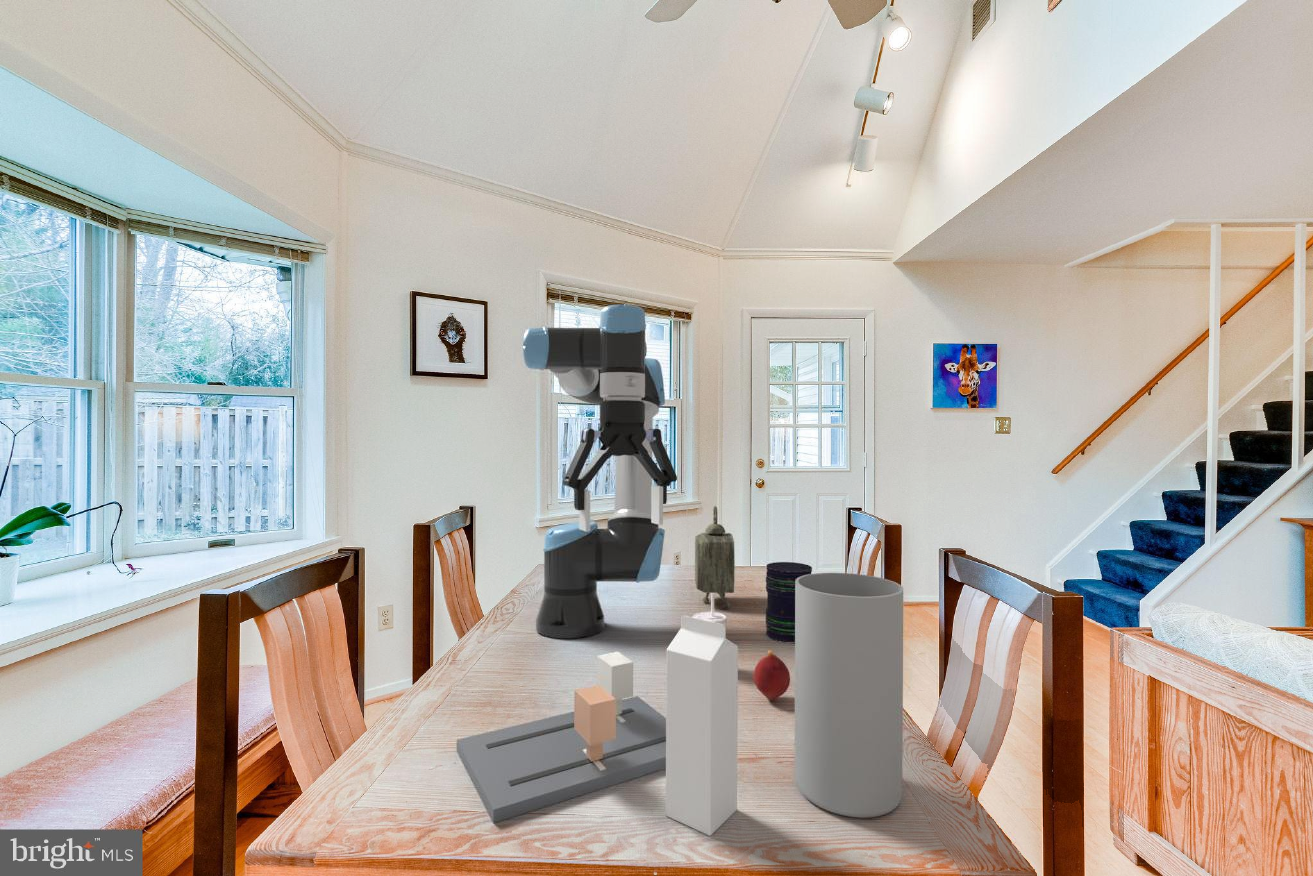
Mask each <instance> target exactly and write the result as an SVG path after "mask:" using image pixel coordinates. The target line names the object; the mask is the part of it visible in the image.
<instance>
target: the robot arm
mask: <svg viewBox="0 0 1313 876" xmlns="http://www.w3.org/2000/svg"><path fill="white" fill-rule="evenodd" d="M599 321H600V322H599V325H598V326H599V327H547V326H542V327H530V328H528V329H526V330H525V332H524V335H523V339H522V355H523V361H524V364H525V365H526V367H527V368H528V369H533V370H540V371H544V370H549V371H550V372H551V373H552V374H553V375H554V376H555V377H556V378H557V380H558V384H559V385H560V388H561V389H562V391H564V392H565V393H566V395H569V396H571V397H572V398H575V399H577V400H579V401H582V402H584V403H586V404H587V403H589V404H592V405H598V406H599V423H600V426H599V429H598V430H595V429H594V428H583V429H582V430H581V435H580V436H581V437H580V438H581V439H580V443H579V445H578V448H577V450H576V452H575V454H574V455H573V458H572V460H571V462H570V465H569V467H568V469H567V471H566V472H565V476H564V478H563V480H562V485H563V486H566V487H569V488H570V489H572V490H573V492H574V493H573V494H574V497H573V501H574V502H573V505H574V506H573V507H574V509H575V510H576V511H578V522H577V521H576V522H570V523H566V524H560V525H556V526H553V527H551V528H549V529H547V531H546V533H545V535H544V548H543V552H544V554H543V555H544V556H543V557H544V558H543V561H544V562H543V563H544V564H543V567H544V569H543V570H544V571H543V573H544V580H543V582H544V584H543V585H544V587H543V590H544V592H543V597H542V600H541V603H540V607H539V608H538V609H539V610H538V613H537V616H536V620H535V631H536V630H537V631H538V632H537V631H536V632H537V633H538V634H539V633H541V634H542V636H544V635H545V637H548V636H549V637H548V638H554V639H576V638H577V639H578V638H583V637H586V638H587V637H589V636H593V635H596V634H599V633H600V632H602V631H603V630H604V629H605V614H604V611H603V609H602V605H601V602H600V599H599V595H598V592H597V591H598V588H597V585H598V583H597V582H608V583H609V582H614V583H615V582H617V583H618V582H628V583H629V582H630V583H631V582H632V583H633V582H635V583H641V582H654V581H655V580H657V579H658V577H659V576H660V572H661V564H662V557H663V556H662V555H663V551H664V541H665V534H666V531H665V529H664V528H661V527H659V526H662V525H664V505H666V504H667V502H668V499H667V498H668V487H670V486H671V483H675V482H677V480H678V476H677V474H676V471H675V468H674V466H673V464H672V462H671V459H670V457H669V455H668V453H667V452H668V451H667V450H666V447H665V446H664V442H663V438H662V437H663V436H662V431H661V429H660V428H653V426H654V425H653V424H654V423H653V420H654V418H655V417H656V415H657V414H658V413H659V412H660V407H662V406H664V405H665V403H666V397H665V394H666V393H665V387H664V386H665V384H664V377H663V376H664V375H663V371H662V367H661V366H662V365H661V363H660V361H659V360H658V359H656V358H647V353H648V352H647V350H648V349H647V342H646V329H647V323H646V313H645V310H644V308H642V307H640V306H638V305H635V304H634V305H633V304H610V305H607V306H604V307H603V308H602V309H601V310H600V319H599ZM597 440H599V441H600V442H601V445H600V446H599V448H598V449H597V451H596V452H595V455H594V456H593V457H592V458H591V460H590V462H589V463H588V464H587V465H586V466H585V464H586V462H587V460H588V457H589V456H590V453H591V451H592V448H593V446H594V443H596V442H597ZM612 456H614V457H615V481H614V482H615V483H614V484H615V485H614V513H613V514H612V515H611V516H610V518H608V519H607V527H606V528H598V527H599V525H598V523H597V522H596V521H591V490H590V489H589V490H588V489H586V488H588V486H589V484H590V483H591V482H592V481H593V479H594V478H595V476H597V474H598V473H599V471H600V470H601V469H602V467H603V466H604V465H605V463H607V461H608V459H610V458H612ZM653 456H654V458H655V460H656V462H655V460H653ZM656 463H657V464H656ZM584 466H585V468H584ZM583 468H584V469H583ZM653 481H654V483H655V485H654V484H653ZM541 634H540V635H541Z"/></svg>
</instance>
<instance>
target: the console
mask: <svg viewBox="0 0 1313 876" xmlns="http://www.w3.org/2000/svg"><path fill="white" fill-rule="evenodd" d="M456 752H457V754H458V756H459V758H460V760H461V762H462V764H463V766H464V768H465V770H466V772H467V774H468V776H469V777H470V780H471V782H472V784H473V786H474V788H475V790H476V792H477V793H478V795H479V797H480V800H481V802H482V804H483V806H484V808H485V810H486V811H487V814H488V815H489V817H490V819H491V821H492V823H493V824H496V823H498V822H501V821H504V820H508V819H511V818H514V817H518V816H521V815H524V814H526V813H530V812H533V811H536V810H539V809H541V808H545V807H548V806H552V805H555V804H558V803H561V802H564V801H568V800H571V799H574V798H577V797H580V796H583V795H587V794H590V793H593V792H596V791H598V790H603V789H605V788H609V787H612V786H615V785H618V784H621V783H624V782H627V781H630V780H634V779H636V778H640V777H643V776H646V775H650V774H652V773H656V772H658V771H663V770H666V716H664V715H663V714H661V713H660V712H659V711H657V710H656V709H655V708H654V707H652V706H651V705H649V704H648V703H647V702H645V701H644V699H642V698H640V697H639V696H638V695H636V696H632V697H628V698H624V699H622V714H618V715H616V739H613V740H609V741H606V742H603V758H602V759H599V760H596V761H592V762H591V761H590V760H589V758H588V757H587V756H586V741H585V740H584V739H583V738H582V737H581V735H580V734H579V733H578V732H577V731H576V730H575V729H574V711H570V712H566V713H562V714H558V715H554V716H550V717H545V718H542V719H537V720H533V721H528V722H524V723H521V724H516V725H512V726H509V727H504V728H500V729H499V728H498V729H495V730H492V731H488V732H483V733H478V734H475V735H472V736H471V735H470V736H466V737H463V738H459V739H456Z"/></svg>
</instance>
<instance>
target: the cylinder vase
mask: <svg viewBox="0 0 1313 876" xmlns="http://www.w3.org/2000/svg"><path fill="white" fill-rule="evenodd" d="M903 686H904V587H903V586H902V585H901V584H900V583H898V582H895V581H893V580H890V579H886V578H882V577H880V576H879V577H878V576H873V575H866V574H862V573H861V574H858V573H847V572H819V573H811V574H808V575H804V576H801V577H798V578H797V579H796V581H795V643H794V768H793V769H794V771H793V773H794V774H793V775H794V782H795V784H796V786H797V788H798V790H799V791H800V793H801V794H802V795H803V797H805V798H806V799H807V800H808V801H810V802H811V803H813V805H816V806H817V807H819V808H821V809H823V810H826V811H828V812H830V813H832V814H836V815H840V816H844V817H850V818H862V819H864V818H865V819H866V818H876V817H880V816H883V815H886V814H889V813H891V812H893V810H895V809H896V808H897V807H898V806H899V804H900V803H901V801H902V799H903V746H904V744H903V737H904V736H903V733H904V731H903V725H904V724H903V723H904V722H903V720H904V719H903V717H904V715H903V713H904V711H903V710H904V705H903V704H904V699H903V698H904V697H903V696H904V687H903Z"/></svg>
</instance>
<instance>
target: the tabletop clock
mask: <svg viewBox="0 0 1313 876" xmlns="http://www.w3.org/2000/svg"><path fill="white" fill-rule="evenodd" d="M712 511H713V518H712V519H713V520H712V523H710V524H709V525H708V526H707V527H706V528H705V532H701V533H699V534H697V535H695V537H694V538H695V540H694V582H695V588H696V589H697V590H699V591H700V592H702V593H706V594H705V596H704V597H703V598H702V602H703V603H704V604H708V603H710V598H709V595H710V594H711V593H714V594H718V595H719V596H718V597H720V598H721V600H722V601H723V604H722V608H723V609H725V610H728V609H729V608H730V602H727V601H726V598H725V597H726V594H733V593H735V569H736V568H735V566H736V564H735V540H734V537H733V534H732V533H730V532H726V530H725V527H724V526H723V525H722V524H719V523H718V508H717V506H716V505H715V506H713V510H712Z"/></svg>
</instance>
